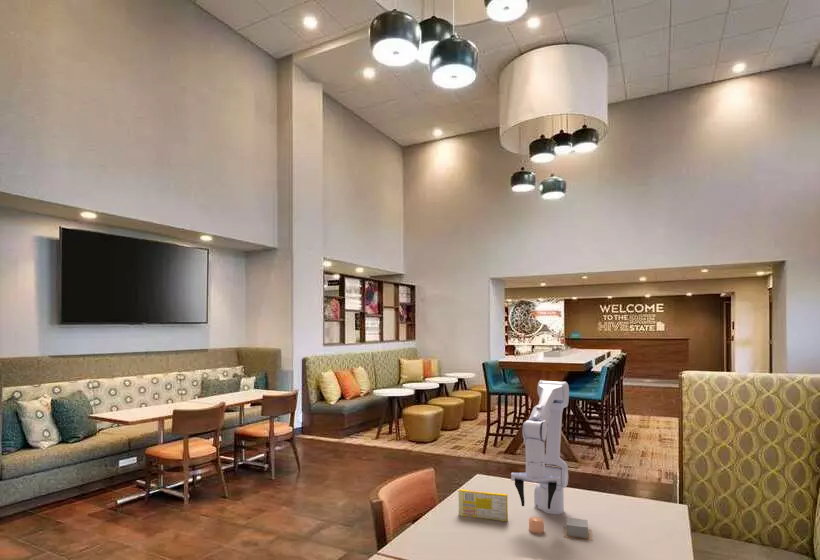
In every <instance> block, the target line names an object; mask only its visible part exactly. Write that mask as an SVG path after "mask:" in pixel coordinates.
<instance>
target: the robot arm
mask: <svg viewBox="0 0 820 560" xmlns="http://www.w3.org/2000/svg"><path fill="white" fill-rule="evenodd" d="M537 395H538V398H539V401H538V404H537V405H535V406H533V408H532V411H531V413H530V415H529V418H528V419H527V420H526V421H524V422H523V424H522V429H521V430H522V437H523V444H524V447H525V448H524V449H525V472H511V473H510V477H511V481H513V482H514V486H515V488H516V489H517V493H518V495H519V499H520V501H521V502H520V503H521V506H522V507H525V492H524V491H525V489H524V484H525V482H529V483H530V482H534V483H537V484H536V485H535V487H534V493H533V496H534V497H533V498H534V508H536V509H539V510H541V511H542V512H544V513H546V514H550V515H560V514H563V513H564V512H565V506H564V505H565V503H564V502H565V501H564V489H565V488H567V486H568V484H569V472H568V471H569V467H568V464H567V463H566V462H565V460H564V459H562V458H561V457H560V456H561V440H562V423H563V421H562V420H563V412H564V408H567V407H568V406H569V399H570V385H569V384H568V382H567V381H553V380H543V379H540V380H539V381H538V382H537ZM545 441H546V444H545Z"/></svg>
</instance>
